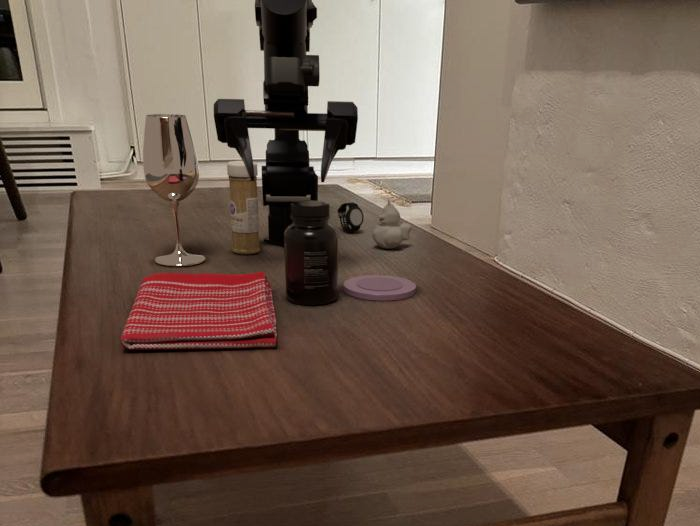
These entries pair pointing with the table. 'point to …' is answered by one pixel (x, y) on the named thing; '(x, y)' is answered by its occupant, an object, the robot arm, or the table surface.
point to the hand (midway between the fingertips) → (287, 180)
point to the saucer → (379, 287)
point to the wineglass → (171, 172)
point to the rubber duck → (390, 228)
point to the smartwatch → (350, 217)
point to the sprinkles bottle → (243, 208)
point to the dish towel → (201, 312)
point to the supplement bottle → (311, 255)
